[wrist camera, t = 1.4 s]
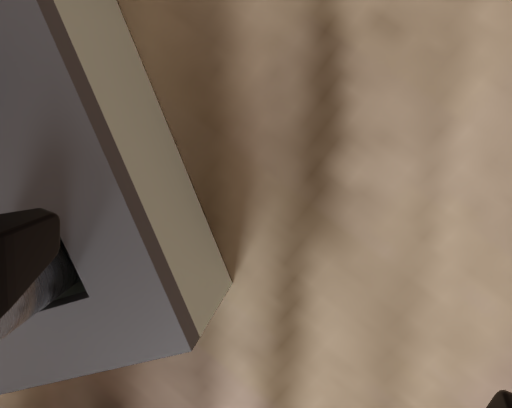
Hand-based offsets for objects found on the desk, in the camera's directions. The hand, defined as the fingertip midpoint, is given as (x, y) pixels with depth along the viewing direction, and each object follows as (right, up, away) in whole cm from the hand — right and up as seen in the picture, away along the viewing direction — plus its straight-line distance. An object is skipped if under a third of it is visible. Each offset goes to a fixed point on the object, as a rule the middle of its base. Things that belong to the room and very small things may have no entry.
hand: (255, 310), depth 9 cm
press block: (-9, +5, +14) cm, 17 cm away
